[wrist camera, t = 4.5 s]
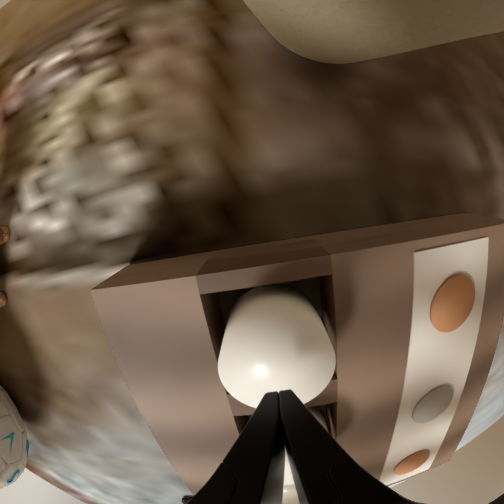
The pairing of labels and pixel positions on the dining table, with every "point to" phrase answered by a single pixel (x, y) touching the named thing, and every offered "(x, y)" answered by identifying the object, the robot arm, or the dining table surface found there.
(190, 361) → the button board
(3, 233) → the lion figurine
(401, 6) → the plant pot
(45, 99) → the dining table surface
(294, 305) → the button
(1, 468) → the puzzle ball
